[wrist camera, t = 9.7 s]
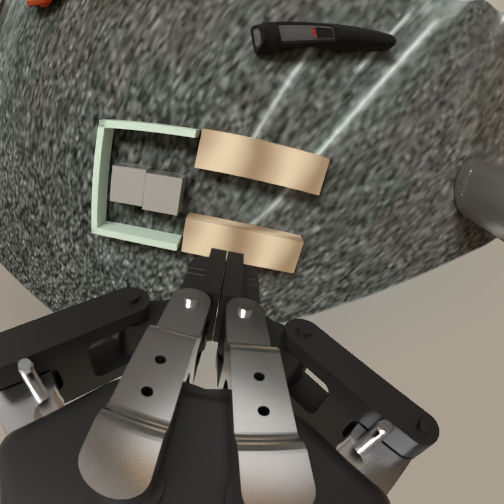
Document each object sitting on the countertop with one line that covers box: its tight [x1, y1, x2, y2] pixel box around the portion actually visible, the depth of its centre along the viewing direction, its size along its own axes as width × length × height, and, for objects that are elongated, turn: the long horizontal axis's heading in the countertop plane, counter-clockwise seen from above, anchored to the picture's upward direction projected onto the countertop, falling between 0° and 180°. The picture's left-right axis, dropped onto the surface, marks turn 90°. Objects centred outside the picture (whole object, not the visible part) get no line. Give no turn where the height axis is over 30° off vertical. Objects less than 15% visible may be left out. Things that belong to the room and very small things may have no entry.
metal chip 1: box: [110, 162, 153, 206], centre depth 27 cm, size 4×4×2 cm
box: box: [92, 119, 200, 251], centre depth 27 cm, size 11×13×2 cm
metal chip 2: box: [142, 169, 187, 216], centre depth 28 cm, size 4×4×2 cm
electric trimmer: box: [251, 22, 396, 54], centre depth 21 cm, size 4×16×3 cm, turn 97°
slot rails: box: [181, 129, 330, 273], centre depth 29 cm, size 13×14×2 cm
